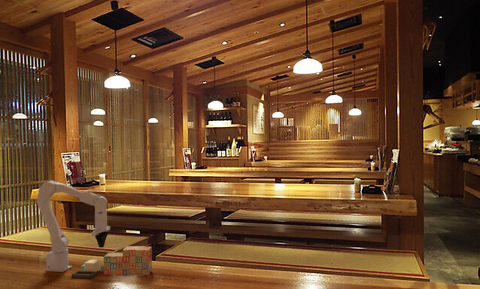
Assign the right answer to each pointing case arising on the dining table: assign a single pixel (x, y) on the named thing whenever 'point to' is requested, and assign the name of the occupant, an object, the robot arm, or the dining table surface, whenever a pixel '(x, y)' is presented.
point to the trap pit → (84, 274)
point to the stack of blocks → (129, 262)
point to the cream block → (92, 265)
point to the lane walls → (84, 268)
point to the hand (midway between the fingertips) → (101, 247)
